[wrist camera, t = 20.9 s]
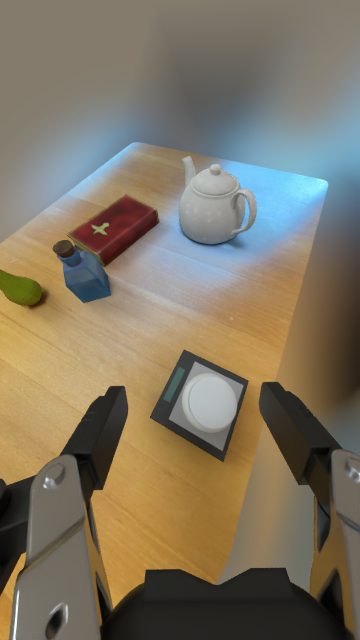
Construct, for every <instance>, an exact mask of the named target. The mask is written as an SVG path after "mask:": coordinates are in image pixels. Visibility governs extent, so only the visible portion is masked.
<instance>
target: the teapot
mask: <svg viewBox="0 0 360 640" xmlns="http://www.w3.org/2000/svg"><path fill="white" fill-rule="evenodd" d="M182 163H183V164H184V167H185V173H186V189H185V191H184V193H183V195H182V198H181V201H180V205H179V221H180V225H181V228H182V230H183V232H184V233H185V234H186V235H187V236H188V237H189V238H191V239H192V240H194V241H196V242H199V243H204V244H217V243H222V242H224V241H227V240H229V239H232V238H233V237H234V236H235V235H236V234H237V233H241V232H244V231H246V230H248V229H249V228H250V227H251V226H252V225H253V223H254V221H255V218H256V212H257V206H256V200H255V197H254V195H253V193H252V192H251V191H250V190H249V189H241V187H240V183H239V181H238V179H237V178H236V177H235V176H233V175H231V174H229V173H228V172H227V171H225V170H222V169H221V166H220V165H218V164H214V165H212V166H211V167H210V169H206V170H203V171H201V172H200V173H198V174H197V175H196V172H195V168H194V165H193V161H192V159H191V157H190V156H188V157H185V158H184V159H182ZM244 196H245V197H246V199H247V201H248V204H249V220H248V223H247V224H246V226H245V227H243V228H240V227H241V224H242V222H243V219H244V214H245V198H244Z"/></svg>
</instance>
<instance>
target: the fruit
mask: <svg viewBox="0 0 360 640" xmlns="http://www.w3.org/2000/svg"><path fill="white" fill-rule="evenodd" d="M0 289H1V290H2V291H3V292H4V294H5V296H6V297H7V299H9V300H10V301H12V302H14V303H16V304H18V305H34V304H35V303H37V302H38V301H40V298H41V296H42V292H41V287H40V285H39V284H38V283H37V282H36V281H34V280H32V279H29V278H26V277H19V276H15V275H12V274H9V273H7V272H4V271H2V270H0Z"/></svg>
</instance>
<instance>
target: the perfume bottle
mask: <svg viewBox="0 0 360 640" xmlns="http://www.w3.org/2000/svg"><path fill="white" fill-rule="evenodd" d="M53 251H54V252H55V253H56V254H57V257H58V258H59V259H60V260H61V261H62V262H63V273H64V278H65V283H66V287H67V288H68V289H70V290H71V291H72V292H73V293H74V294H75V295H76V296H77V297H78V298H79V299H80V300H81V301H82V302H83V303H85V302H88V301H92V300H96V299H99V298H103V297H107V296H110V295H111V293H110V288H109V282H108V276H107V274H106V272H105V271H104V269H103V267H102V266H101V264H100V263H99V261H98V259H97V258H96V256H95V255H92V254H90V253H87V252H85V251H83V252H79V251H78V250H77V248H76V247H75V246H73V245H72V243H71V242H70V241H68V240H62V241H59V242H57V243H56V244H55V245H54V246H53Z"/></svg>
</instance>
